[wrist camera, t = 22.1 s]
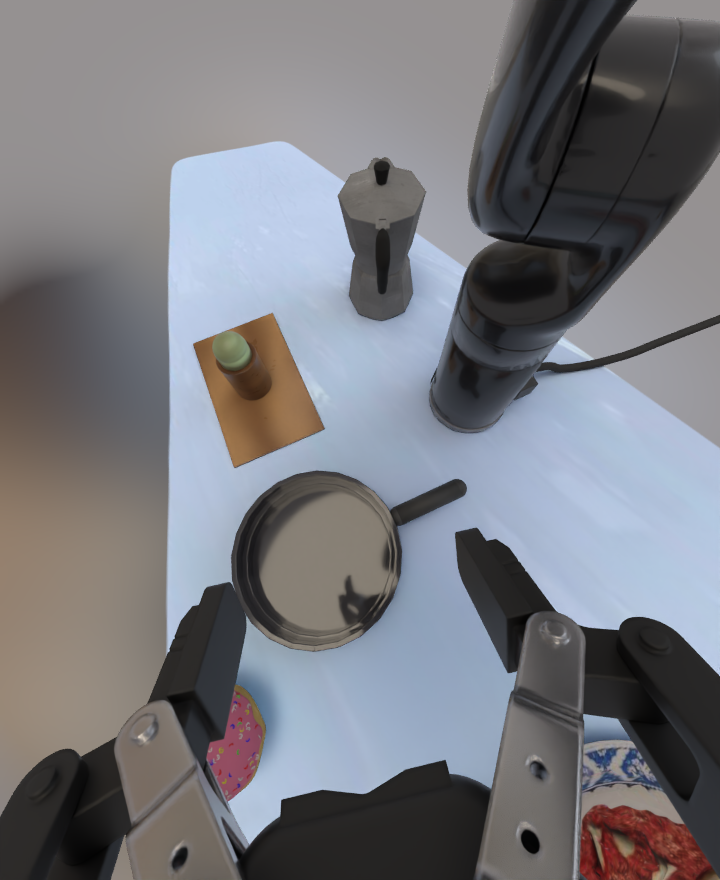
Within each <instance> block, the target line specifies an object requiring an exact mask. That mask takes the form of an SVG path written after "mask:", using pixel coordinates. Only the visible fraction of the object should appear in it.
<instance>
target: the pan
mask: <svg viewBox="0 0 720 880" xmlns="http://www.w3.org/2000/svg"><path fill="white" fill-rule="evenodd" d="M231 556H232V557H231V563H232V582H233V585H234V588H235V592H236V595H237V597H238V599H239V601H240V603H241V606H242V608H243V610H244V612H245V614H246V615H247V617H248V618H249V620H250V622H251V623H252V624H253V625H254V626H255V627H256V628H258V629H259V630H260V631H261V632H262V633H263V634H264V635H265V636H267V637H268V638H269V639H271V640H273V641H275V642H277V643H279V644H282V645H284V646H286V647H288V648H291V649H297V650H305V651H313V652H314V651H315V652H316V651H322V650H327V649H333V648H338V647H341V646H343V645H345V644H347V643H349V642H351V641H353V640H355V639H357V638H359V637H361V636H362V635H363V634H364V633H365V632H366V631H367V630H368V629H370V628H371V627H372V626H373V625H374V624H375V623H376V622H377V621H378V620H379V619H380V618H381V616H382V615H383V613H384V612H385V610H386V608H387V607H388V605H389V604H390V602H391V601H392V599H393V597H394V594H395V590H396V587H397V584H398V581H399V578H400V574H401V558H402V548H401V543H400V538H399V533H398V528H397V526H396V524H395V522H394V519H393V517H392V515H391V513H390V511H389V509H388V507H387V506H386V505H385V504H384V503H383V501H382V500H381V499H380V498H379V497H378V495H377V494H376V493H375V492H374V491H373V490H371V489H370V488H369V487H367V486H366V485H364V484H363V483H361V482H360V481H358V480H357V479H354V478H352V477H349V476H346V475H343V474H340V473H337V472H327V471H312V472H306V473H300V474H296V475H293V476H291V477H289V478H287V479H284V480H282V481H280V482H278V483H276V484H275V485H273V486H272V487H271V488H270V489H268V490H267V491H266V492H264V493H263V494H262V495H261V496H260V497H259V498H258V499H257V500H256V501H255V503H254V504H253V505H252V506H251V508H250V509H249V510H248V511H247V513H246V514H245V516H244V518H243V520H242V523H241V525H240V527H239V529H238V531H237V533H236V537H235V541H234V546H233V551H232V555H231Z"/></svg>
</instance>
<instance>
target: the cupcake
mask: <svg viewBox="0 0 720 880" xmlns="http://www.w3.org/2000/svg"><path fill="white" fill-rule="evenodd" d="M265 733H266V727H265V723H264V721H263V719H262V716H261V714H260V711H259V709H258V707H257V705H256V703H255V701H254V699H253V698H252V696H251V695H250V694H249V693H248V692H247V691H246V690H245V689H244V688H243V687H241V686H239V685H236V684H235V688H234V693H233V698H232V703H231V708H230V713H229V718H228V723H227V728H226V733H225V738H224V739H223V740H218V741H214V742H210V744H209V749H208V753H207V757H206V758H207V759H208V761H209V763H210V765H211V767H212V769H213V772H214V774H215V776H216V778H217V780H218V782H219V785H220V787H221V789H222V791H223V793H224V795H225V798H226V800H227V802H228V801H229V800H231V799H232V798H233V797H235V796H236V795H237V794H238V793H239V792H241V791H242V790H243V789H244V788H245V787H246V786H247V785H248V784H249V783H250V782H251V781H252V779H253V777H254V776H255V774H256V771H257V768H258V765H259V762H260V758H261V754H262V749H263V744H264V739H265Z"/></svg>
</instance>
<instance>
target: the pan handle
mask: <svg viewBox="0 0 720 880" xmlns="http://www.w3.org/2000/svg"><path fill="white" fill-rule="evenodd" d="M466 491H467V487H466V484H465V483H464V482H463V481H462V480H459V479H454V480H452V481H450V482H447V483H445V484H443V485H441V486H439V487H437V488H434V489H432V490H430V491H428V492H426V493H424V494H422V495H419V496H417V497H415V498H413V499H411V500H409V501H407V502H404V503H402V504H400V505H398V506H396V507H394V508H392V509H391V510H390V513H391V515H392V517H393V519H394V522H395V524H396V526H401V525H403V524H406V523H408V522H410V521H412V520H414V519H416V518H418V517H420V516H423V515H425V514H427V513H429V512H431V511H433V510H435V509H437V508H439V507H442V506H444V505H446V504H448V503H450V502H452V501H454V500H456V499H459V498H461V497H463V496H464V495H465V493H466Z"/></svg>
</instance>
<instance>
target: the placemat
mask: <svg viewBox="0 0 720 880" xmlns="http://www.w3.org/2000/svg"><path fill="white" fill-rule="evenodd" d="M227 331H233V332H236V333H238V334H240V335H241V336H242V337H243V338H244V339H245V340H246V341H247V342H249V343H251V344H252V345H253V346H254V348H255V349H256V351H257V353H258V355H259V357H260V358H261V360H262V362H263V364H264V366H265V368H266V369H267V371H268V373H269V375H270V377H271V380H272V385H271V388H270V390H269V392H268V393H267V394H266V395H265V396H264V397H262V398H260V399H258V400H246V399H243V398H242V397H241V396H239V394H238V393H237V392H236V390H235V389H234V388H233V387H232V385H231V384H230V383H229V382H228V380H227V379H226V378H225V376H224V375H223V374H222V373H221V371H220V370H219V369H218V367H217V365H216V357H215V356H214V353H213V349H212V344H213V341H214V339H215V337H216V336H217V335H218V334H217V335H214V336H212V337H209V338H207V339H204V340H201V341H199V342H196V343H194V344H193V345H194V348H195V351H196V354H197V357H198V360H199V363H200V366H201V369H202V372H203V375H204V378H205V381H206V384H207V387H208V390H209V393H210V396H211V399H212V402H213V405H214V408H215V411H216V414H217V417H218V420H219V423H220V426H221V429H222V432H223V435H224V438H225V441H226V444H227V447H228V450H229V453H230V457H231V460H232V463H233V466H234V467H235V468H236V467H238V466H240V465H243V464H245V463H247V462H249V461H252V460H254V459H256V458H259V457H261V456H263V455H266V454H268V453H270V452H273V451H275V450H277V449H280V448H282V447H284V446H287V445H289V444H291V443H294V442H296V441H298V440H301V439H303V438H305V437H308V436H310V435H312V434H315V433H317V432H319V431H321V430H324V426H323V424H322V422H321V420H320V418H319V415H318V413H317V411H316V409H315V406H314V404H313V402H312V400H311V398H310V395H309V393H308V391H307V389H306V386H305V384H304V382H303V380H302V378H301V375H300V373H299V371H298V369H297V366H296V364H295V362H294V360H293V358H292V355H291V353H290V351H289V349H288V346H287V344H286V342H285V340H284V338H283V335H282V333H281V331H280V329H279V327H278V324H277V322H276V320H275V318H274V315H273V313H271V314H268V315H266V316H263V317H261V318H258V319H256V320H253V321H250V322H248V323H245V324H243V325H240V326H238V327H235V328H232V329H230V330H227ZM219 334H220V333H219Z"/></svg>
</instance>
